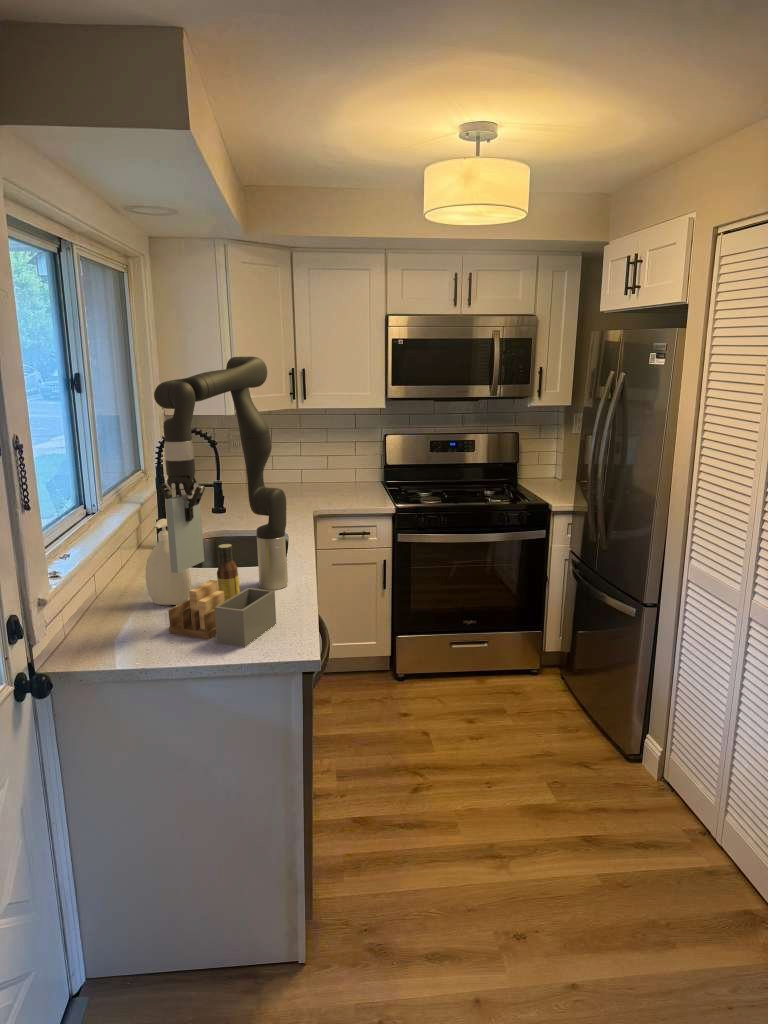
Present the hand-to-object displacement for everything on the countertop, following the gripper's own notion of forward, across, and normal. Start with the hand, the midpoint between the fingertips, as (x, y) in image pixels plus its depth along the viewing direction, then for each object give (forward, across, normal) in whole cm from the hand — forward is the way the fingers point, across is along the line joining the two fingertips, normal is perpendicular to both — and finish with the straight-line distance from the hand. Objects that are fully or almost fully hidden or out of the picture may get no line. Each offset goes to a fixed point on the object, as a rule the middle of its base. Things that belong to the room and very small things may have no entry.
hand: (184, 520), depth 181 cm
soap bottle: (+31, +18, -12) cm, 38 cm away
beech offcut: (+29, -8, +1) cm, 30 cm away
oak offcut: (+29, -4, -1) cm, 29 cm away
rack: (+31, -4, 0) cm, 31 cm away
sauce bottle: (+31, -2, -15) cm, 35 cm away
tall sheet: (+13, 0, 0) cm, 13 cm away
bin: (+31, -18, 0) cm, 35 cm away
